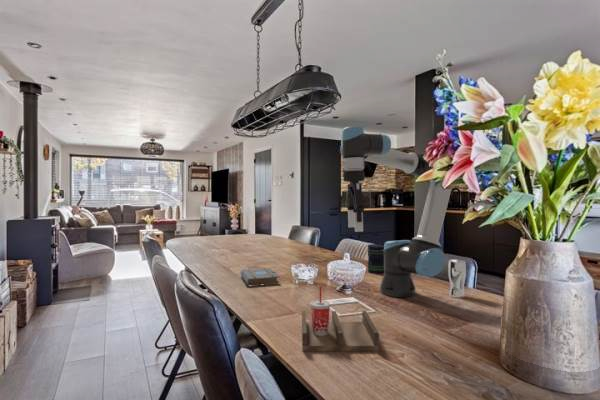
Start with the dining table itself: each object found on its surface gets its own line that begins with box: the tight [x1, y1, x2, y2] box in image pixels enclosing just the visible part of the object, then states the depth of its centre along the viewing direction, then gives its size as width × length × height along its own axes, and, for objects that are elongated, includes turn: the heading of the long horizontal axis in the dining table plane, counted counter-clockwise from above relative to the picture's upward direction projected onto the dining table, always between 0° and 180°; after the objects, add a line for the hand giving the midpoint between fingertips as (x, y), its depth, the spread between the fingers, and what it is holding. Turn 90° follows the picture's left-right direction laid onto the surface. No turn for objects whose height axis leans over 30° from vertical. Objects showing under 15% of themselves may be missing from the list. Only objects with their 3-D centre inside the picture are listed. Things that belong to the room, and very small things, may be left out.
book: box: [240, 267, 281, 286], centre depth 174 cm, size 21×16×5 cm
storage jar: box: [367, 243, 384, 275], centre depth 192 cm, size 10×10×15 cm
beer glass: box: [447, 258, 467, 299], centre depth 146 cm, size 7×7×15 cm
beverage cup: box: [310, 286, 331, 336], centre depth 103 cm, size 6×6×14 cm
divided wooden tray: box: [301, 310, 380, 352], centre depth 103 cm, size 21×18×5 cm
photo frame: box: [324, 296, 376, 318], centre depth 132 cm, size 15×1×18 cm
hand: (355, 229), depth 123 cm, fingers open, 13 cm apart
